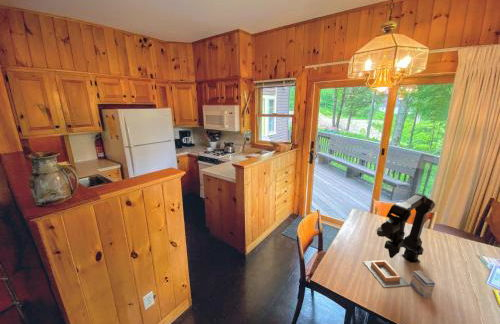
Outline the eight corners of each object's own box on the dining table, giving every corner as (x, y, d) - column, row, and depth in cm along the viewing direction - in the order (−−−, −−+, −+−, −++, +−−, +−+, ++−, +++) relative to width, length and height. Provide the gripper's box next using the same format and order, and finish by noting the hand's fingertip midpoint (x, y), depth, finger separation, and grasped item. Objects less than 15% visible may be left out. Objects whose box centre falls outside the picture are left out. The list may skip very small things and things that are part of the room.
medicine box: (409, 284, 106) (412, 270, 104) (417, 283, 107) (420, 270, 104) (423, 297, 99) (426, 283, 97) (431, 297, 99) (435, 282, 97)
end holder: (385, 260, 123) (386, 256, 122) (409, 285, 106) (410, 281, 105) (362, 261, 122) (363, 257, 121) (383, 287, 105) (384, 283, 104)
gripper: (383, 215, 117) (379, 238, 122) (375, 229, 104) (371, 255, 108) (407, 222, 110) (402, 246, 114) (401, 239, 97) (396, 265, 101)
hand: (392, 252), depth 110 cm, fingers open, 9 cm apart
